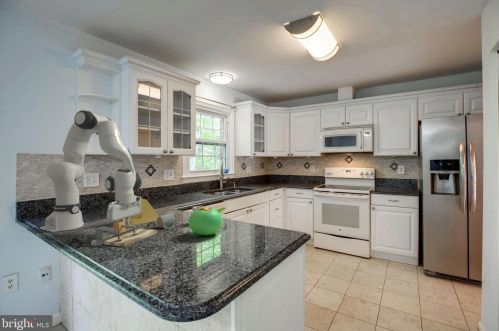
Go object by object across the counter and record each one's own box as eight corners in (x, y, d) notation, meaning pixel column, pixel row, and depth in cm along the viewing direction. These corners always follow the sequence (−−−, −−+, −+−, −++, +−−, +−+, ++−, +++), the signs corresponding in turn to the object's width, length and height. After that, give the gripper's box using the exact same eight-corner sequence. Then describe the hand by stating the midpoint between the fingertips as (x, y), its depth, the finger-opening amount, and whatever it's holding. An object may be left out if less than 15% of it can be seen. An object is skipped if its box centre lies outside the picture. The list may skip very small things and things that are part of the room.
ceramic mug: (156, 227, 142) (156, 214, 142) (169, 224, 148) (169, 212, 148) (163, 231, 135) (163, 217, 134) (177, 228, 140) (177, 215, 140)
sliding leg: (113, 232, 124) (112, 222, 124) (119, 230, 128) (119, 221, 128) (132, 234, 121) (131, 224, 121) (138, 232, 124) (137, 222, 124)
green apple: (182, 235, 125) (181, 207, 125) (204, 228, 140) (204, 202, 139) (209, 241, 116) (208, 210, 116) (230, 232, 130) (229, 205, 130)
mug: (196, 226, 142) (196, 209, 142) (186, 225, 147) (186, 208, 146) (209, 222, 152) (209, 206, 152) (199, 221, 156) (199, 205, 156)
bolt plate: (104, 244, 113) (104, 240, 113) (138, 231, 134) (138, 228, 134) (124, 246, 110) (124, 243, 110) (157, 232, 131) (156, 229, 131)
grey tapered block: (90, 245, 112) (89, 230, 112) (132, 230, 137) (132, 217, 137) (110, 247, 108) (110, 232, 108) (150, 231, 133) (150, 219, 133)
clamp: (126, 226, 145) (126, 199, 145) (121, 223, 152) (120, 198, 152) (158, 220, 160) (158, 196, 160) (152, 218, 166) (152, 194, 166)
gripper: (113, 203, 118) (113, 231, 118) (143, 197, 138) (143, 221, 138) (103, 202, 120) (103, 230, 120) (134, 196, 140) (134, 220, 140)
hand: (125, 225), depth 129 cm, fingers closed
